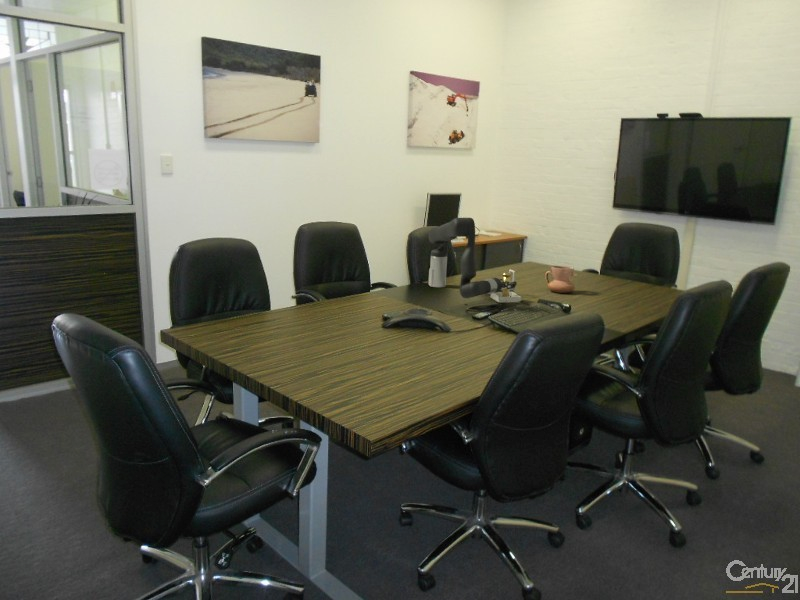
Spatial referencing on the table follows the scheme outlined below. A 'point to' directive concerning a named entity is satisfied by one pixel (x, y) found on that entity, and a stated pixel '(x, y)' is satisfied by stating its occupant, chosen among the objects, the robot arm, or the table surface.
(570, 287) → the ceramic jug
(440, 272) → the robot arm
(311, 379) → the table surface
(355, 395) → the table surface
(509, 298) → the tray
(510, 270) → the trolley
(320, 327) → the table surface
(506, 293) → the stop pin
